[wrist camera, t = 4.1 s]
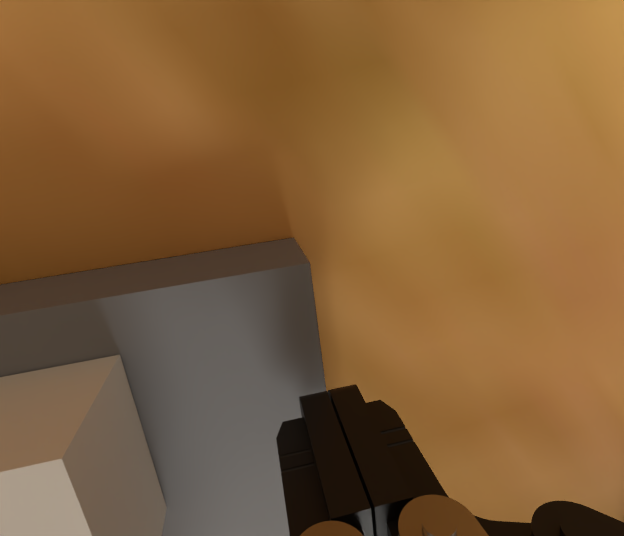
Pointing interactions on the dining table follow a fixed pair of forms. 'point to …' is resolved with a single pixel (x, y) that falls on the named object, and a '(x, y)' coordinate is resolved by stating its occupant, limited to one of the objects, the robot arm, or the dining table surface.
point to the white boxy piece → (75, 455)
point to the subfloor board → (190, 367)
